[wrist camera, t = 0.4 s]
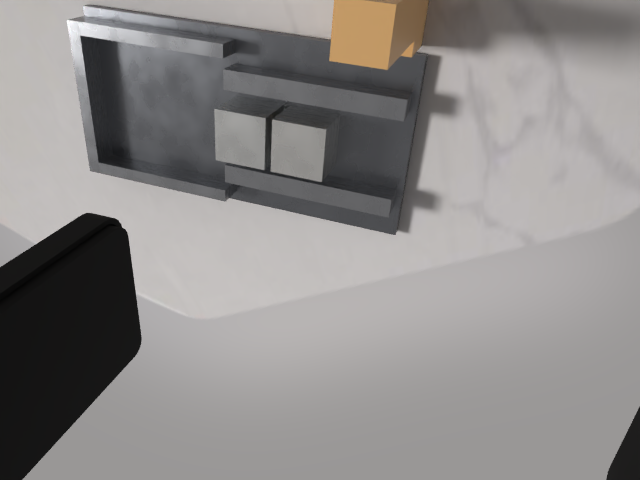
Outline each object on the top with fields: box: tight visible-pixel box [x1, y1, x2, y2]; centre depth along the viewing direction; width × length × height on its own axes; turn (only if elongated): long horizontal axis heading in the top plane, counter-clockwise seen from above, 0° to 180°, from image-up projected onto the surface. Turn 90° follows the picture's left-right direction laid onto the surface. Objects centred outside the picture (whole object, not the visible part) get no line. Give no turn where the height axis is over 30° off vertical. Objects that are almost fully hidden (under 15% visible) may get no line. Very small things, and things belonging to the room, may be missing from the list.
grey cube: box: [271, 106, 340, 182], centre depth 41 cm, size 4×4×4 cm
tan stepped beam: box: [329, 0, 429, 70], centre depth 32 cm, size 5×3×12 cm, turn 176°
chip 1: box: [214, 96, 284, 170], centre depth 42 cm, size 4×4×4 cm
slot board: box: [67, 5, 428, 235], centre depth 43 cm, size 14×27×3 cm, turn 86°
